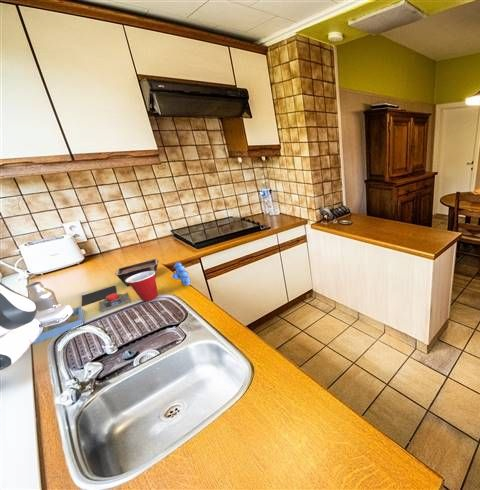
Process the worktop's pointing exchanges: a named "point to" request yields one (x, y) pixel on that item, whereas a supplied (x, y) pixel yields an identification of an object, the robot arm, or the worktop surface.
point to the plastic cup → (144, 285)
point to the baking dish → (136, 269)
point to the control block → (114, 302)
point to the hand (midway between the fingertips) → (40, 310)
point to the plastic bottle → (43, 300)
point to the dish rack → (63, 328)
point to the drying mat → (97, 295)
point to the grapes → (181, 274)
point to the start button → (112, 296)
